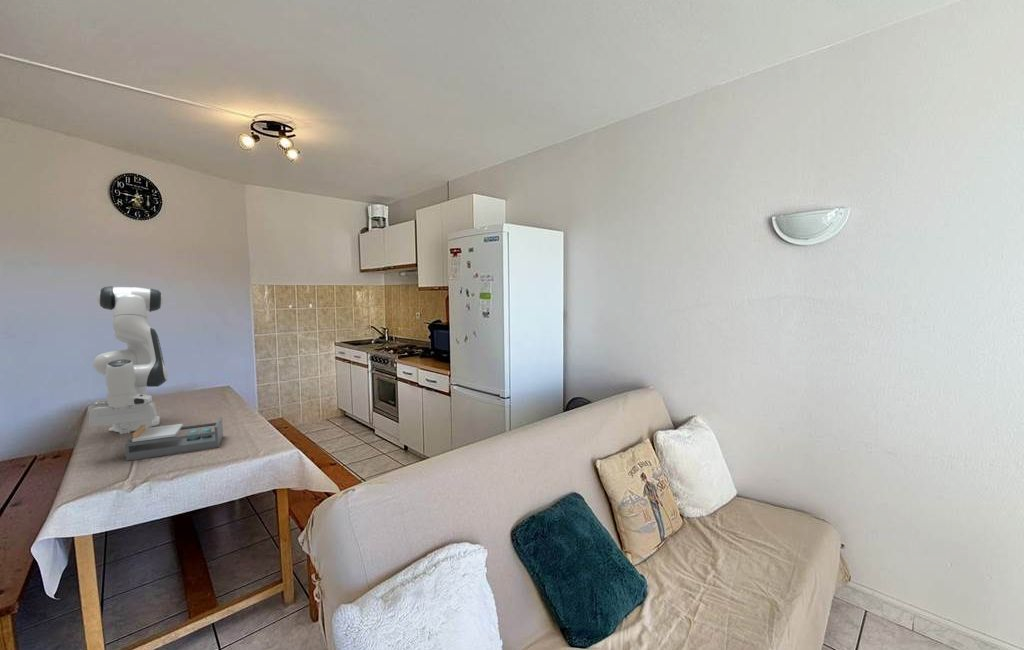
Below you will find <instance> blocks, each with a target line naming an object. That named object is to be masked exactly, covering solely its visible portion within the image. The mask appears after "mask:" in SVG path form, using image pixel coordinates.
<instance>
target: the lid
mask: <svg viewBox="0 0 1024 650" xmlns="http://www.w3.org/2000/svg"><path fill="white" fill-rule="evenodd" d="M183 426H184V423H178V424H169V425H160V426H159V425H158V426H152V427H149V428H146V424H145V425H141V426H140V427H139V428H138V429H137V430H136V431H133V433H132V436H133V439H132V442H136V441H144V440H151V439H159V438H166V437H174V436H178V433H179V432H180V431H181V430H180V429H181V428H182V427H183Z"/></svg>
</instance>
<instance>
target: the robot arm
mask: <svg viewBox="0 0 1024 650" xmlns="http://www.w3.org/2000/svg"><path fill="white" fill-rule="evenodd" d="M96 298H97V302H98V304H99V306H100V308H103V309H106V310H108V311H109V310H110V311H112V310H113V314H112V327H113V328H112V329H113V331H114V337H115V339H117V340H118V341H119V342H122V343H125V344H127V348H126V349H119V350H118V349H117V350H111V351H106V352H103V353H100V354H98V355H96V356H95V358H94V360H93V368H94V369H95V371H96V372H98V373H99V374H101V375H103V376H105V385H106V387H107V392H106V401H102V402H93V403H91V404H89V405H88V407H87V412H88V413H89V415H88V425H89V426H90V427H92V428H94V427H102V426H110V425H111V427H109V428H108V432H115V433H119V435H123V434H130V433H131V432H135V431H136V430H137V429H138V428H139V427H140V426H141V425H145V424H146V428H151V427H157V426H159V425H160V422H161V416H159V415H158V413H157V407H156V405H155V404H156V403H155V402H154V401H153V397H152V395H150V394H148V389H147V387H148V388H149V387H150V388H151V387H158V388H159V387H160V386H162V385H163V384H164V383H165V382H166V381H168V380H167V379H168V370H167V368H166V365H165V361H164V358H163V357H164V356H163V352H162V347H161V343H160V339H159V336H158V332H157V331H156V329H154V328H152V327H151V326H150V325H149V323H148V311H149V313H151V312H155V311H156V312H157V311H158V310H161V307H162V306H163V303H164V297H163V295H162V293H161V291H160V290H159V289H154V288H145V287H137V286H130V287H129V286H103V287H102V288H100V291H99V292H98V293H97V297H96Z"/></svg>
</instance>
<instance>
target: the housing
mask: <svg viewBox="0 0 1024 650" xmlns="http://www.w3.org/2000/svg"><path fill="white" fill-rule="evenodd" d="M212 427H213V428H214V430H212ZM199 428H202V429H201V430H200V432H199V433H197V434H189V435H188V434H181V435H176V436H174V437H166V438H159V439H151V440H144V441H136V442H132V439H133V435H132V436H131V437H130V438H129V439H128V440H127V441H126V442H125V443H124V448H125V461H128V462H129V461H134V460H141V459H147V458H148V459H149V458H154V457H160V456H161V457H162V456H166V455H167V456H168V455H176V454H182V453H188V452H194V451H202V450H209V449H215V448H220V445H221V443H222V440H223V438H224V430H223V428H224V427H223V417H218V419H217V421H216V422H209V423H208V422H207V423H200V424H192V425H186V426H185V425H183V427H182V428H181V429H180V431H183V430H191V429H192V430H193V429H199ZM193 437H199V440H192V441H189V438H193Z"/></svg>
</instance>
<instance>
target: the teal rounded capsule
mask: <svg viewBox="0 0 1024 650" xmlns="http://www.w3.org/2000/svg"><path fill="white" fill-rule="evenodd" d="M197 433H200V431H199V429H198V428H195V429H192V430H191V429H189V430H188V431H187V435H189V434H197ZM192 440H199V437H193V438H189V441H192Z"/></svg>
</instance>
